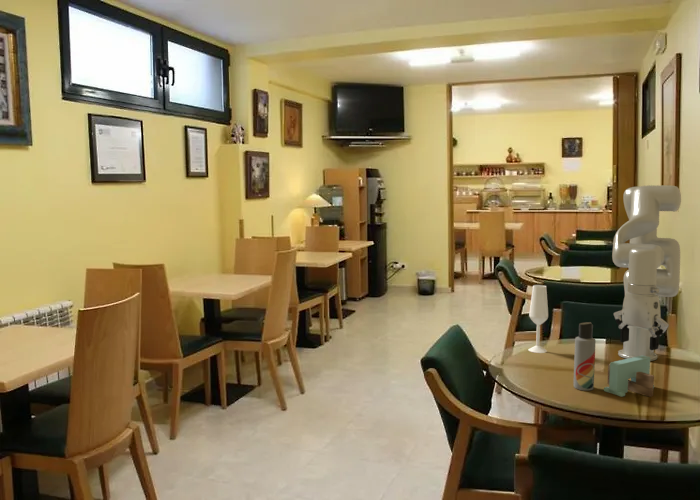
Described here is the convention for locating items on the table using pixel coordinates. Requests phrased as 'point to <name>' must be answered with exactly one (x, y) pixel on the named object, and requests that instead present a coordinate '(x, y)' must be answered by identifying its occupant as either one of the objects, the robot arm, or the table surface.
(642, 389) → the brown u-shaped block
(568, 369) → the table surface
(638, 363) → the teal notched bracket
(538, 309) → the champagne flute
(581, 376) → the lotion bottle
